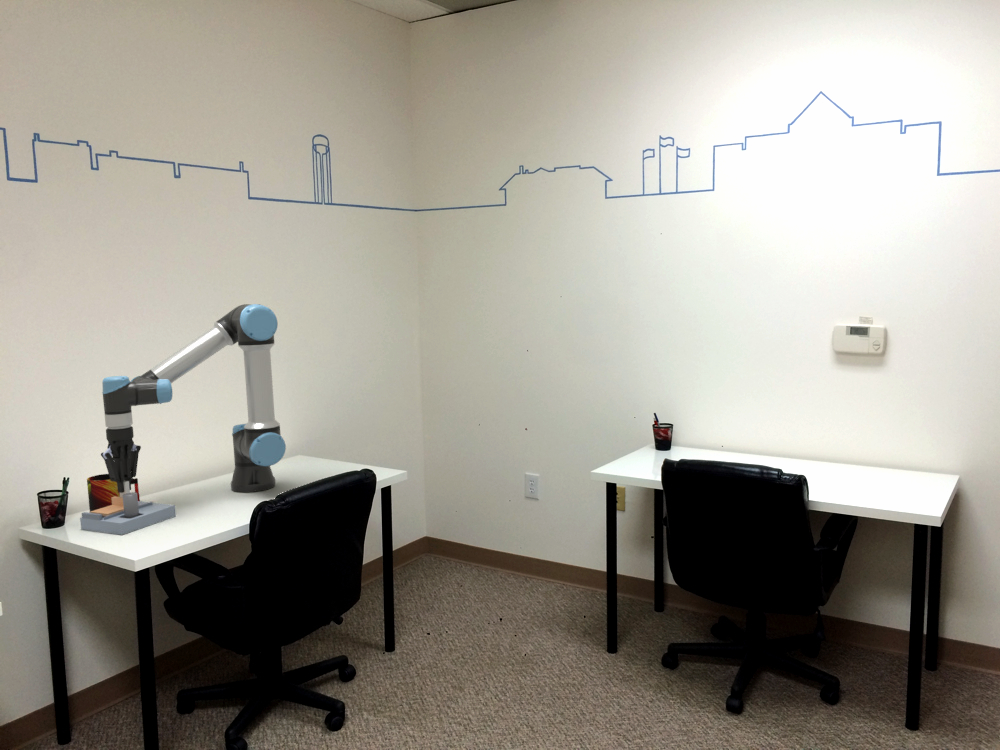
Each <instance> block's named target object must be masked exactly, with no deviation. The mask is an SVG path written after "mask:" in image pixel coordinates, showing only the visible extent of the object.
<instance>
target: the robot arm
mask: <svg viewBox="0 0 1000 750" xmlns="http://www.w3.org/2000/svg"><path fill="white" fill-rule="evenodd" d="M277 330H278V318H277V316H276V314H275V313H274V311H273V310H272V309H271V308H270V307H267V306H266V305H263V304H258V303H253V304H241V305H238V306H236V307H235V308H233V309H231V310H230V311H229V312H227V313H226V314H225V315H224V316H222V317H220V319H218V320H216V321H215V322H214V325H213V327H212V328H210V329H209V330H207V331H205V332H204V333H202V334H201V335H199V336H197V338H195V339H194V340H192V341H190V342H189V343H188V344H186V345H185V346H183V347H181V348H180V349H179V350H177V351H176V352H175V353H173V354H172V355H169V356H168V357H167V358H165V359H164V360H162V361H161V362H160V363H158V364H156V365H155V366H153V367H152V368H150V369H149V370H147V371H146V372H145V373H143V374H142V375H138V376H136V377H133V378H132V379H130V377H129V376H127V375H116V376H115V375H114V376H106V377H104V378H103V379H102V392H101V394H102V400H103V401H102V402H103V409H104V412H103V413H104V421H105V427H106V429H105V434H106V441H107V442H108V444H107V449H106V450H105V452H101V453H100V456H101V457H102V459H103V460H104V464H105V466H106V470H107V474H109V476H110V480H111V481H115V482H117V488H118V492H119V493H120V497H123V496H122V495H123V494H126V493H131V490H132V484H131V481H132V480H133V479H134V478H136V476H137V471H138V461H139V454H140V451H141V449H142V446H141V445H137V444H135V442H134V440H133V439H134V437H135V435H134V427H133V426H132V425H133V423H134V422H133V414H132V407H137V406H147V405H156V404H157V405H159V404H160V405H161V404H166V403H170V402H171V401H172V400H173V386H172V384H173V383H174V382H175V381H177V380H178V379H180V378H182V377H183V376H185V375H186V374H187V373H189V372H191V371H192V370H194V369H195V368H196V367H198V366H199V365H200V364H202V363H203V362H205V361H207V360H208V359H209V358H211V357H212V356H214V355H215V354H217V353H218V352H219V351H221V350H223V349H224V348H225V347H227V346H234V345H235V344H238V345H237V346H238V347H239V348H240V349H241V350H242V351H243V361H244V362H243V364H244V377H245V378H244V379H245V380H244V381H245V392H246V405H247V407H246V408H247V418H248V421H247V423H242V424H241V423H240V424H235V425H234V426H233V427H232V434H231V437H232V443H233V460H234V469H233V473H232V474H233V475H232V479H231V481H230V490H231V491H233V492H236V493H255V492H263V491H266V490H269V489H272V488H274V487H275V486H276V478H275V476H274V475H273V470H272V468H271V466H274V465H276V464H278V463H279V462H280V461H281V460H282V459H283V458H284V456H285V453H286V449H287V447H286V442H285V440H284V437H282V436H281V434H282V433H281V425H280V423H279V422H278V421H277V420H276V418H275V402H274V389H273V387H274V385H273V375H272V374H273V373H272V359H271V357H272V355H271V349H272V347H273V346H274V345H275V334H276V332H277Z"/></svg>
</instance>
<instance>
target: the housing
mask: <svg viewBox="0 0 1000 750" xmlns="http://www.w3.org/2000/svg"><path fill="white" fill-rule="evenodd" d="M138 508H139V516H137V517H134V518H131V519H129V518H125V517H124V511H121V512H118V513H115V514H111V515H108V516H102V514H96V513H90V511H89V512H87V511H86V512H85V511H83V512H81V517H80V519H79V520H80V521H79V522H80V529H81V530H83V531H89V532H90V531H91V532H99V533H104V534H111V535H120V536H124V535H126V534H129V533H132V532H135V531H138V530H141V529H143V528H146V527H150V526H152V525H154V524H157V523H161V522H163V521H166V520H169V519H171V518H175V517H176V515H177V514H176V505H175V504H166V503H159V502H153V501H138Z"/></svg>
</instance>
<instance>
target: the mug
mask: <svg viewBox="0 0 1000 750" xmlns="http://www.w3.org/2000/svg"><path fill="white" fill-rule="evenodd" d="M86 482H87V483H86V485H87V495H88V496H87V498H88V506H89V512H91V511H94V510H97V509H100V508H104V507H107V506H110V505H112V499H111V497H114V496H116V497H120V493H119V492H118V488H117V482H115V481H111V480H110V476H109V473H103V474H95V475H92V476H89V477H87V478H86ZM131 485H134V492H135V493H137V497H138V501H140V500H141V498H140V491H139V479H138V478H137V477H134V478H133V480H132V481H131Z"/></svg>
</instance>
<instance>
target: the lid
mask: <svg viewBox="0 0 1000 750" xmlns="http://www.w3.org/2000/svg"><path fill="white" fill-rule="evenodd" d="M111 499H112V505H110V506H107V507H104V508H100V509H97V510H94V511H91V512H90V511H89V512H90V513H96V514H102V516H108V515H111V514H115V513H118V512H121V511H124V507H123V497H116V496H114V497H111Z"/></svg>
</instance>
